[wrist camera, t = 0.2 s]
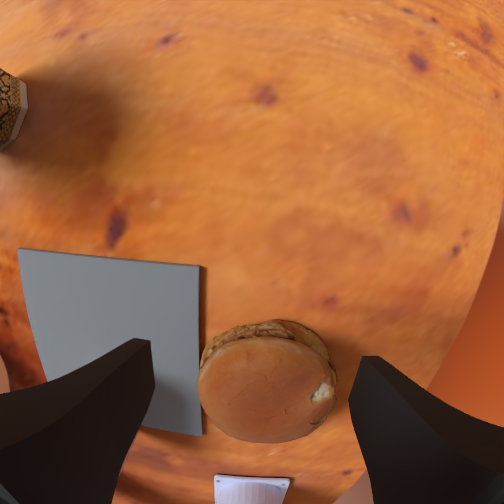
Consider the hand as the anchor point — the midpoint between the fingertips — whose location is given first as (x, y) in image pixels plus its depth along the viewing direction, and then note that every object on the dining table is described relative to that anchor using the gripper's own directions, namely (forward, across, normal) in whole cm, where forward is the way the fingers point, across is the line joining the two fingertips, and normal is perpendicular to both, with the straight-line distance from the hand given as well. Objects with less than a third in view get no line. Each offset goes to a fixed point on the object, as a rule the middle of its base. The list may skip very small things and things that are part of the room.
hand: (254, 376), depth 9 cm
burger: (+10, -1, +7) cm, 13 cm away
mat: (+10, +12, +8) cm, 17 cm away
